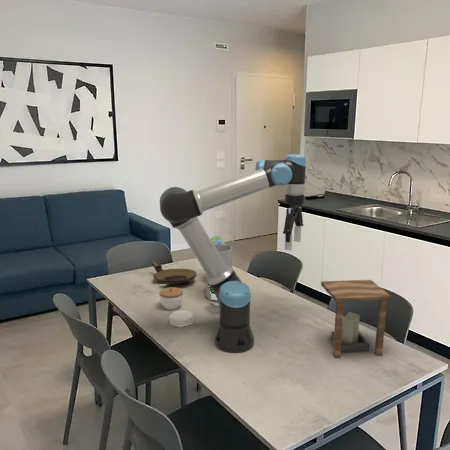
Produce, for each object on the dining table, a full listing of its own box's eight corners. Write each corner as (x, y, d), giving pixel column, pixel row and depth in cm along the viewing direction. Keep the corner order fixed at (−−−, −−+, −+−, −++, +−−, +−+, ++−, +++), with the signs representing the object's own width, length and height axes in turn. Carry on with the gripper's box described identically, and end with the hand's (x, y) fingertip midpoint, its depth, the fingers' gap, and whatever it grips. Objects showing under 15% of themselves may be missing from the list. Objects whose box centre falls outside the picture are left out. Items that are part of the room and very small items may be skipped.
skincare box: (347, 340, 178) (349, 311, 175) (358, 343, 175) (360, 314, 172) (340, 346, 173) (342, 316, 170) (351, 349, 170) (353, 320, 168)
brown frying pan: (163, 293, 225) (163, 279, 223) (144, 275, 251) (144, 262, 249) (204, 286, 235) (204, 272, 234) (182, 269, 261) (181, 257, 259)
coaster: (196, 318, 197) (195, 311, 196) (189, 328, 187) (188, 320, 187) (174, 316, 199) (174, 309, 198) (166, 326, 190) (166, 318, 189)
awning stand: (385, 356, 166) (390, 296, 160) (332, 358, 164) (336, 298, 158) (366, 334, 182) (370, 279, 177) (318, 336, 180) (321, 281, 175)
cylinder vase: (202, 294, 224) (202, 245, 218) (226, 291, 228) (226, 243, 223) (211, 303, 213) (210, 252, 207) (235, 300, 217) (236, 250, 211)
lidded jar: (186, 309, 206) (185, 290, 204) (163, 313, 202) (162, 293, 200) (179, 301, 215) (179, 282, 213) (157, 304, 212) (156, 285, 209)
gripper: (295, 199, 166) (293, 254, 171) (311, 190, 188) (309, 239, 193) (276, 198, 169) (274, 252, 174) (294, 189, 191) (292, 237, 196)
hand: (292, 245), depth 184 cm, fingers open, 13 cm apart
